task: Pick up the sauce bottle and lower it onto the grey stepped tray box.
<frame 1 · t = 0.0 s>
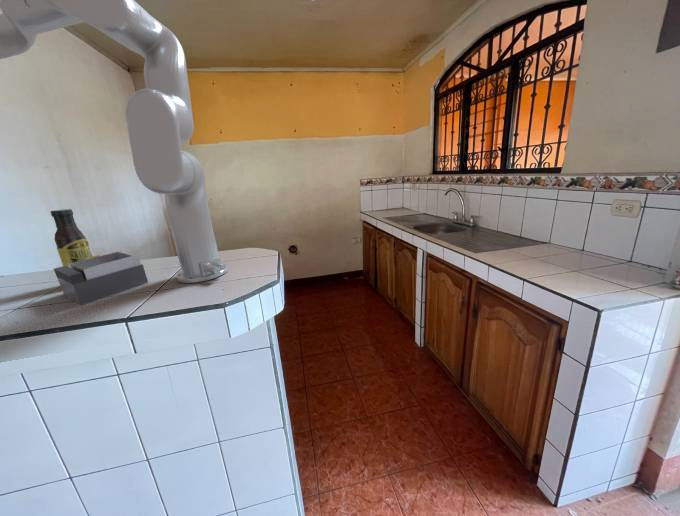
sauce bottle: (86, 283, 79), on the worktop
grey stepped tray box: (107, 288, 73), on the worktop
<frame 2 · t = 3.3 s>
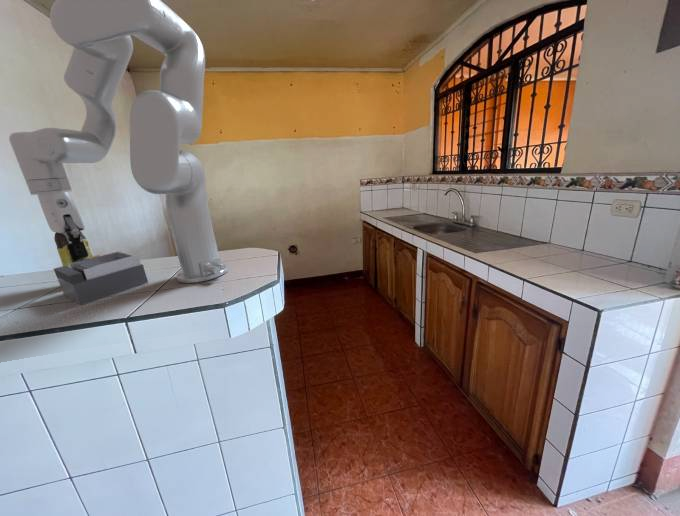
hand: (75, 256, 76), 8 cm above the worktop, tool pointing down, fingers closed on sauce bottle, 6 cm apart
sauce bottle: (86, 283, 79), on the worktop, touching gripper
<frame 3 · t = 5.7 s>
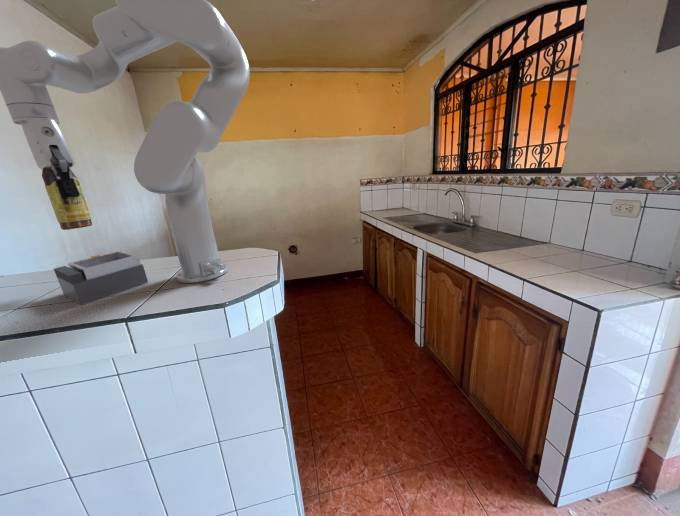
hand: (66, 196, 70), 23 cm above the worktop, tool pointing down, fingers closed on sauce bottle, 6 cm apart
sauce bottle: (79, 228, 72), point 15 cm above the worktop, touching gripper
when the fingers open (13 cm above the worktop, at t = 8.5 s): sauce bottle stays where it is, resting on grey stepped tray box.
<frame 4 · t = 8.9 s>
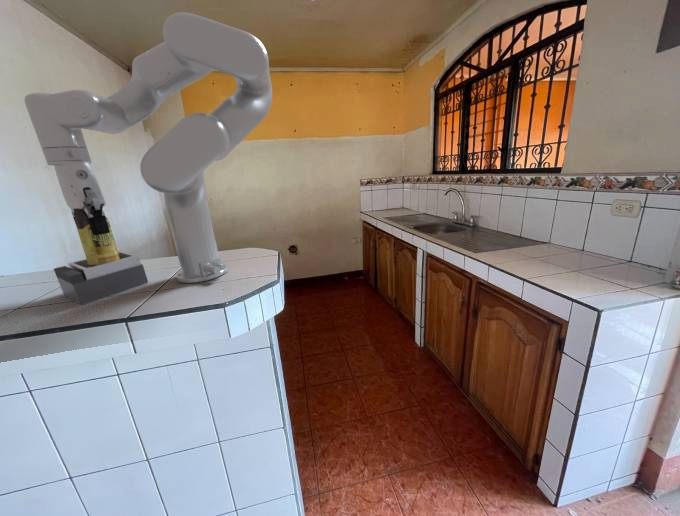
hand: (94, 232, 70), 14 cm above the worktop, tool pointing down, fingers open, 9 cm apart
sauce bottle: (107, 269, 73), point 5 cm above the worktop, touching grey stepped tray box
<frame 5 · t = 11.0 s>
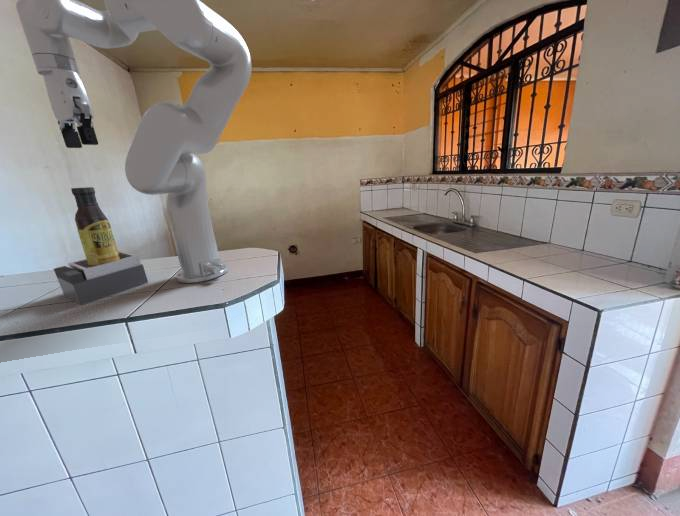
hand: (82, 146, 73), 35 cm above the worktop, tool pointing down, fingers open, 9 cm apart
nothing on the worktop moved.
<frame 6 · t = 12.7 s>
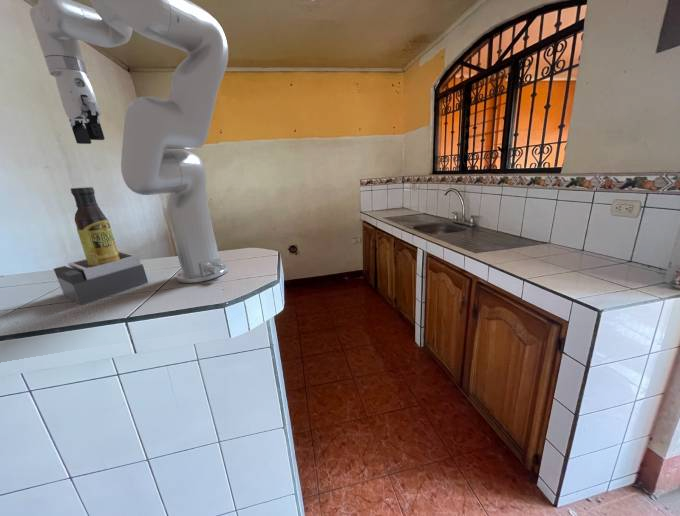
hand: (90, 141, 79), 36 cm above the worktop, tool pointing down, fingers open, 9 cm apart
nothing on the worktop moved.
at the end: sauce bottle 0.1 cm from the target spot on the grey stepped tray box, point 4.8 cm above the grey stepped tray box's base; sauce bottle tilted 0°; the gripper is holding nothing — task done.
